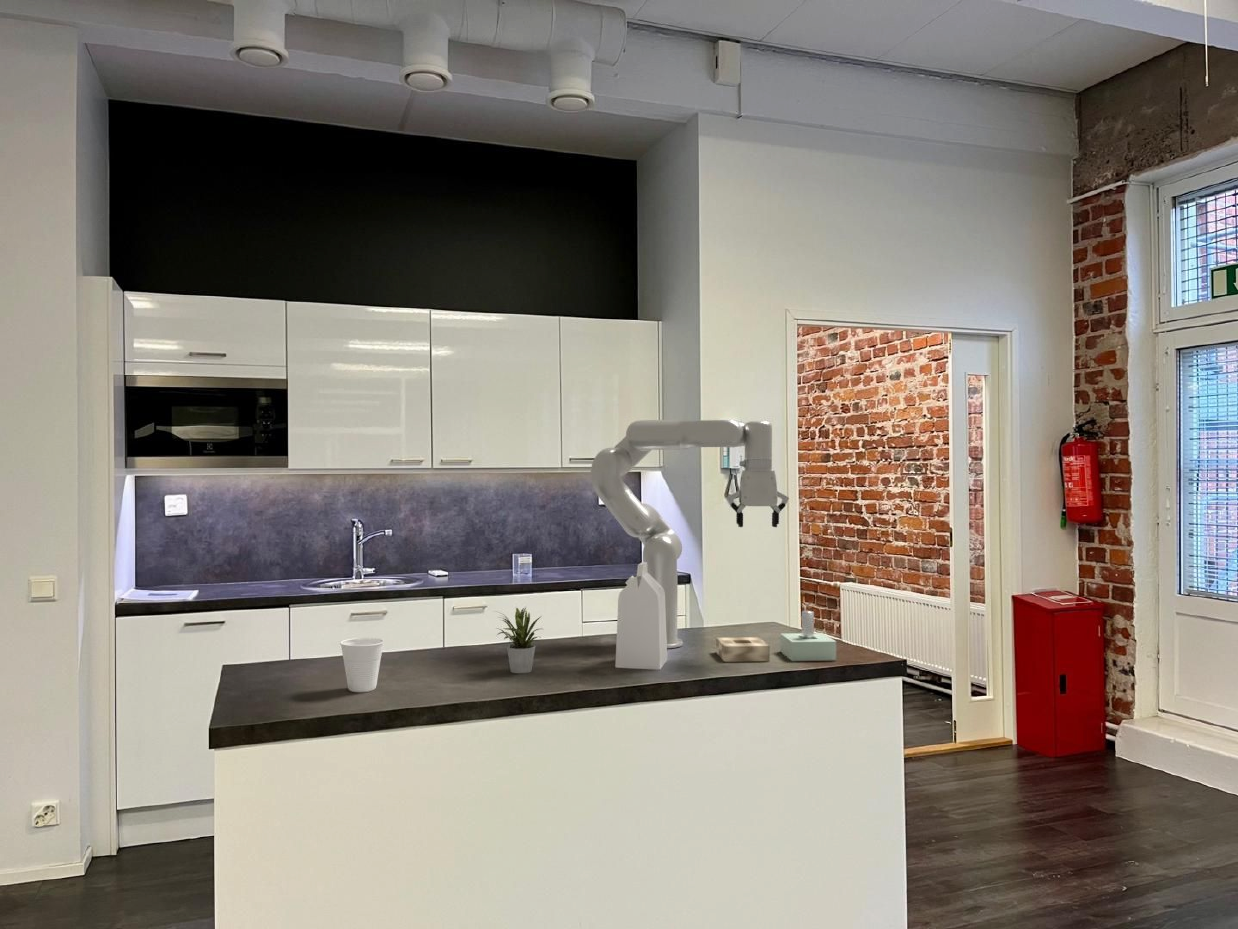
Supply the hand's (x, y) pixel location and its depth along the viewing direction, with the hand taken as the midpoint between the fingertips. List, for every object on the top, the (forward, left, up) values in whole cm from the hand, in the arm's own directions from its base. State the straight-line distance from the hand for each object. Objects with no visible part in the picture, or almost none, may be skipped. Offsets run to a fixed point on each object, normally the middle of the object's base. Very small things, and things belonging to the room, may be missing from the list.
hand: (757, 526), depth 268 cm
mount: (-6, -9, -34) cm, 36 cm away
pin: (+12, -9, -34) cm, 37 cm away
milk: (-34, -16, -34) cm, 51 cm away
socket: (+12, -9, -34) cm, 37 cm away
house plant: (-66, -22, -34) cm, 78 cm away
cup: (-101, -40, -34) cm, 114 cm away
